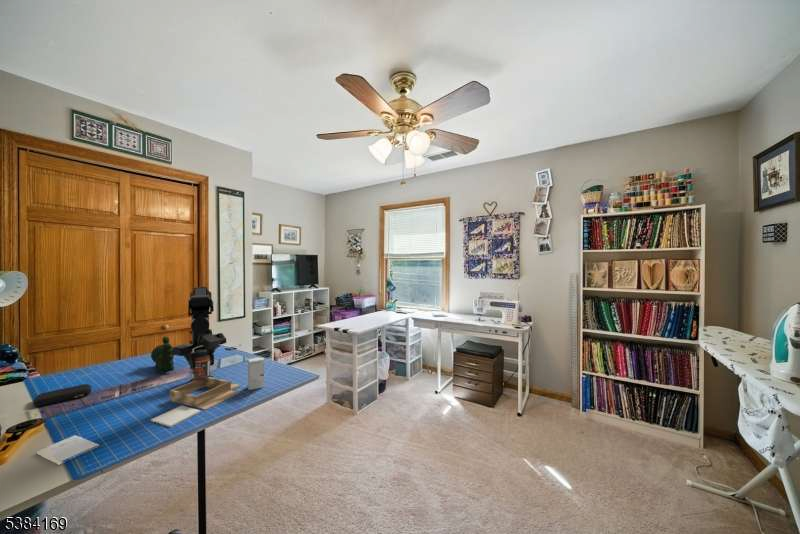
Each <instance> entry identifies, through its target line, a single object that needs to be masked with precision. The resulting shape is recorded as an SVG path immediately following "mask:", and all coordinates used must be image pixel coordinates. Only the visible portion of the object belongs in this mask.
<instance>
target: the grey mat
mask: <svg viewBox="0 0 800 534" xmlns="http://www.w3.org/2000/svg"><path fill="white" fill-rule="evenodd" d="M200 413H201V409H200V410H199V409H196V408H194V407H190V406H189V407H187V406H186V405H180V406H178V407H176V408H173V409H171V410H168V411H167V412H165V413H162V414H160V415H158V416H156V417H153V418H151V419H150V422H153V423H155V422H156V423H155V424H158V423H159V424H160V425H163V426H166V427H168V428H172V427H174V426H177V425H178V424H180V423H182V422H184V421H186V420H188V419H190V418H191V417H194V416H196V415H198V414H200Z"/></svg>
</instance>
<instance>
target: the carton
mask: <svg viewBox="0 0 800 534" xmlns="http://www.w3.org/2000/svg"><path fill="white" fill-rule="evenodd" d="M241 386H242V385H241V384H236V383H232V381H231V380H225V379H220V378H216V377H213V378H212V377H209V378H207V379H205V380H201V381H190V382H188V383H186V384H183V385H180V386H178V387H175V388H173V389H170V390H169V401H170V402H172V403H173V402H174V403H177V404H182V405H183V406H189V407H192V406H193V407H192V408H196V407H197V409H200V408H201V409H200V410H203V409H204V410H205V411H206V410H209V409H210V407H211V408H213V407H215V406H216V405H219V404H221V403H222V402H225V401H227V400H228V398H229V399H230V398H233V397H235V396H237V395H239V394H240V393H241V392H240V391H236V390H235V389H237V388H240V387H241ZM205 387H207V388H211V389H208V390H206V391H204V392H202V393H200V394H198V395H194V394H191V393H193V391H194V392H196V391H199V390H201V389H203V388H205ZM200 388H201V389H200ZM233 389H234V390H233ZM195 390H196V391H195Z"/></svg>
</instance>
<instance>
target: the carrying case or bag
mask: <svg viewBox="0 0 800 534" xmlns="http://www.w3.org/2000/svg"><path fill="white" fill-rule="evenodd" d="M91 392H92V386H91V385H90V384H88V383H84V384H79V385H75V386H68V387H64V388H60V389H55V390H50V391H46V392H41V393H39V394H38V395H37V396H35V397H34V400H33V403H32V404H33V406H34V407H37V406H41V407H43V406H42V405H46V406H48V405H47V404H50V405H52V403H54V404H57V403H56V402H59V403H63V402H66V401H71V400H75V399H80V398H83V397H88V396H89V394H91ZM62 401H63V402H62Z"/></svg>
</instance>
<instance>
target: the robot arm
mask: <svg viewBox="0 0 800 534" xmlns="http://www.w3.org/2000/svg"><path fill="white" fill-rule="evenodd" d="M187 310H188V314H187V315H188V317H191V323H190V329H191V330H189V334H191V340H190V341H189V344H190V345H189V344H188V345H187V344H180V345H177V346H175V345H174V346H172V347H173V349H172V355H174V356H176V357H177V356H178V357H184V358H185V360H186V362H187V363H188V365H189V367H190V369H189V370H192V369H195V355H196V354H197V353H196V352H195V351H197V350H202V349H206V350H207V354H208V355H209V356H210V367H212V366H213V365H215V354H214V353H215V351H216V350H217V349H218V348H219V347H221V345H223V344H227V338H226V336H225V335H224V333H222V332H219V333H216V334H213V330H212V329H210V315H212V314H213V312H214V310H215V309H214V301H213V298H212V292H211V291H209V290H208V286H196V287H194V288H193V291H191V292H190V294H189V299H188V309H187ZM210 377H212V378H214V376H213V375H210ZM189 381H190V382H193V381H194V380H193V379H192V378H191V379H189Z"/></svg>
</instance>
